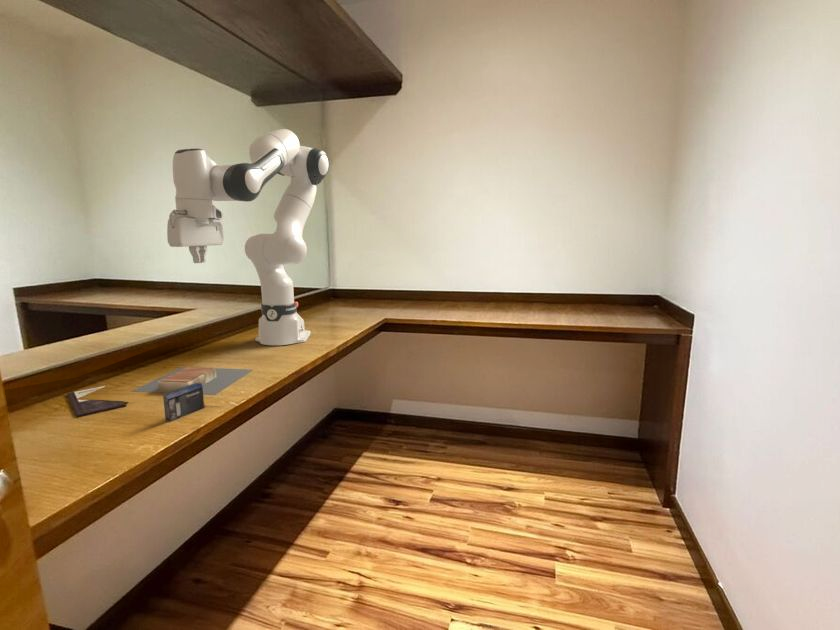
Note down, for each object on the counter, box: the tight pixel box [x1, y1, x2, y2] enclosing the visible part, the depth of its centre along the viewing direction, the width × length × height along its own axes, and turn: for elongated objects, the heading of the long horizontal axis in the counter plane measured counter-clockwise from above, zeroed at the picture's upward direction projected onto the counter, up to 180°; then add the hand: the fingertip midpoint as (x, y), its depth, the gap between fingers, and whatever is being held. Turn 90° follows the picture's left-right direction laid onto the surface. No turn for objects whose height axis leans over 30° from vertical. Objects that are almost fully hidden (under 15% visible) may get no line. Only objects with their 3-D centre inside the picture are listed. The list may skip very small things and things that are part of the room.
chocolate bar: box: [66, 385, 127, 419], centre depth 103 cm, size 9×1×18 cm
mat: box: [130, 366, 254, 396], centre depth 116 cm, size 20×22×1 cm
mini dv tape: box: [162, 382, 205, 423], centre depth 95 cm, size 8×2×6 cm, turn 154°
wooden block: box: [158, 366, 216, 392], centre depth 112 cm, size 3×8×12 cm
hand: (199, 262), depth 119 cm, fingers closed
